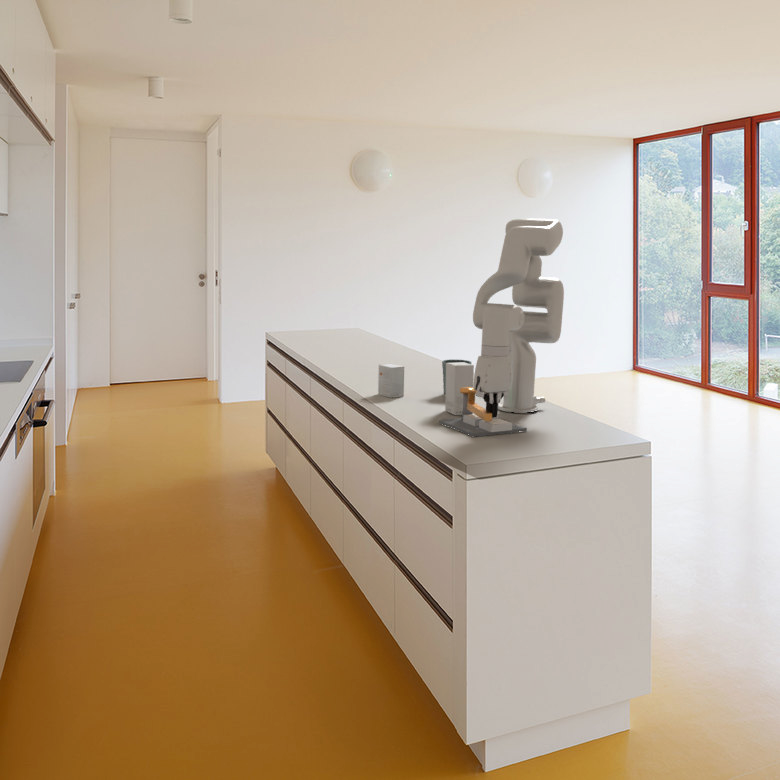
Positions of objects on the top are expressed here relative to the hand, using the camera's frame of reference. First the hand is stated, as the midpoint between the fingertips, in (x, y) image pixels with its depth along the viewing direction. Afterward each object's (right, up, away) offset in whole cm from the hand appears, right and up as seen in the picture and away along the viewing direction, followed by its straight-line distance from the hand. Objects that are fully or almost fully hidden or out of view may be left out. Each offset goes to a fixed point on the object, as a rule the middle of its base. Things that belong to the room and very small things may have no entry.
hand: (491, 416), depth 217 cm
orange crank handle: (-4, +1, +4) cm, 6 cm away
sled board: (-2, -3, +6) cm, 7 cm away
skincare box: (-7, 0, +25) cm, 27 cm away
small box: (-28, +5, +51) cm, 59 cm away
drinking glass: (-5, +5, +55) cm, 56 cm away
